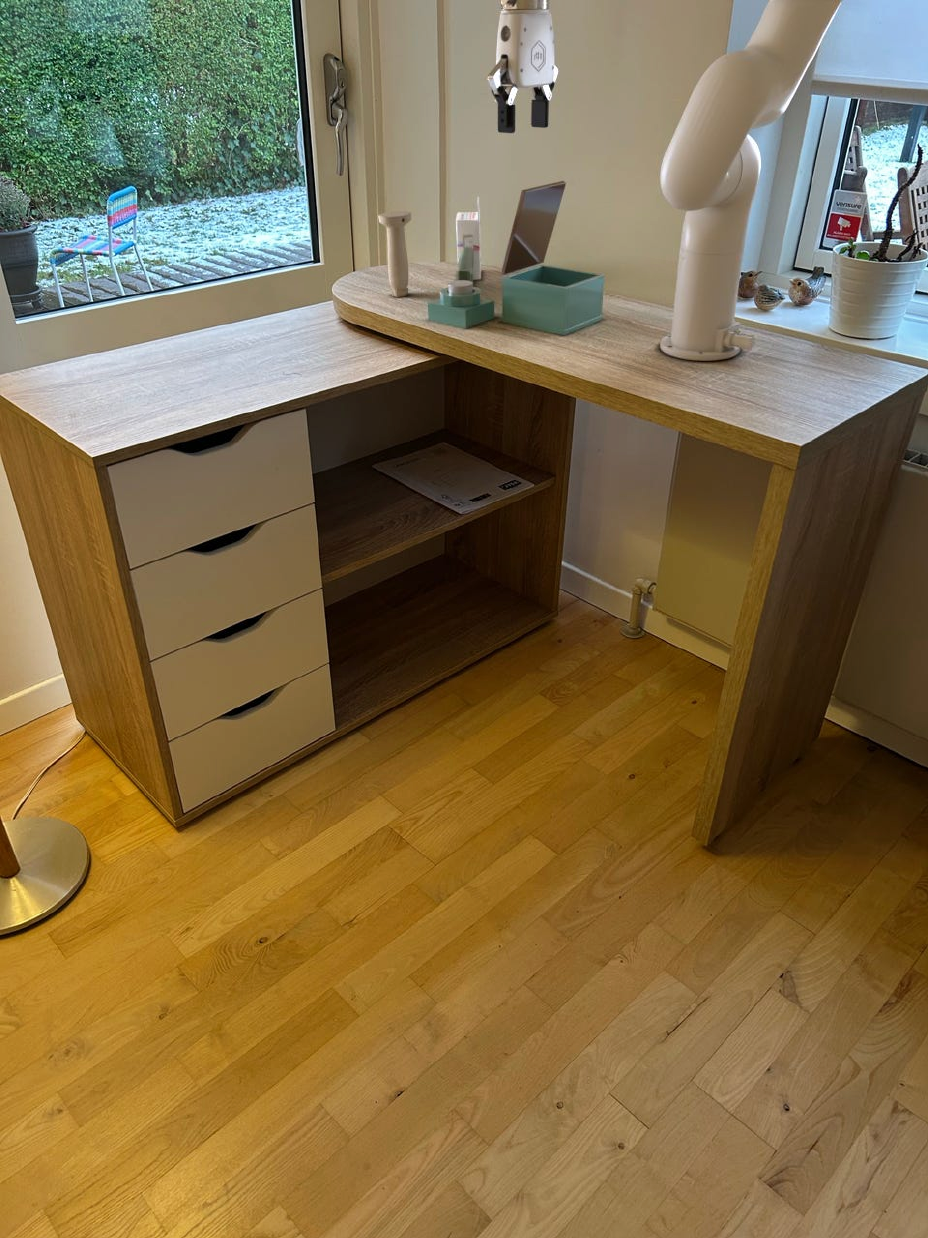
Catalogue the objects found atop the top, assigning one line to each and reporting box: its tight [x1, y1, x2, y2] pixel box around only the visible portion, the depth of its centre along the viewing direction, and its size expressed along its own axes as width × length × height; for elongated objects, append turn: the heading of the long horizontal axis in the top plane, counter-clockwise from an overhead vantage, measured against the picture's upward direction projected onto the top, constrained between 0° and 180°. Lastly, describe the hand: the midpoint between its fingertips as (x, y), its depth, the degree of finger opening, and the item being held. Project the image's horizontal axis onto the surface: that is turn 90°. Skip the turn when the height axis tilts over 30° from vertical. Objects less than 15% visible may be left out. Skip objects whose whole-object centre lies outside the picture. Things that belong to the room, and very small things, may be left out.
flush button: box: [447, 279, 474, 295], centre depth 163 cm, size 4×4×2 cm
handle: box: [377, 210, 412, 298], centre depth 177 cm, size 5×6×15 cm
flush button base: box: [427, 286, 495, 329], centre depth 164 cm, size 9×8×5 cm
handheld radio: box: [456, 247, 474, 283], centre depth 181 cm, size 7×3×25 cm
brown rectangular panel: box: [500, 180, 567, 276], centre depth 157 cm, size 14×12×1 cm
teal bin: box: [501, 264, 605, 336], centre depth 161 cm, size 14×12×8 cm
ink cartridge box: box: [455, 196, 482, 281], centre depth 188 cm, size 9×5×15 cm, turn 179°
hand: (523, 129), depth 150 cm, fingers open, 8 cm apart
